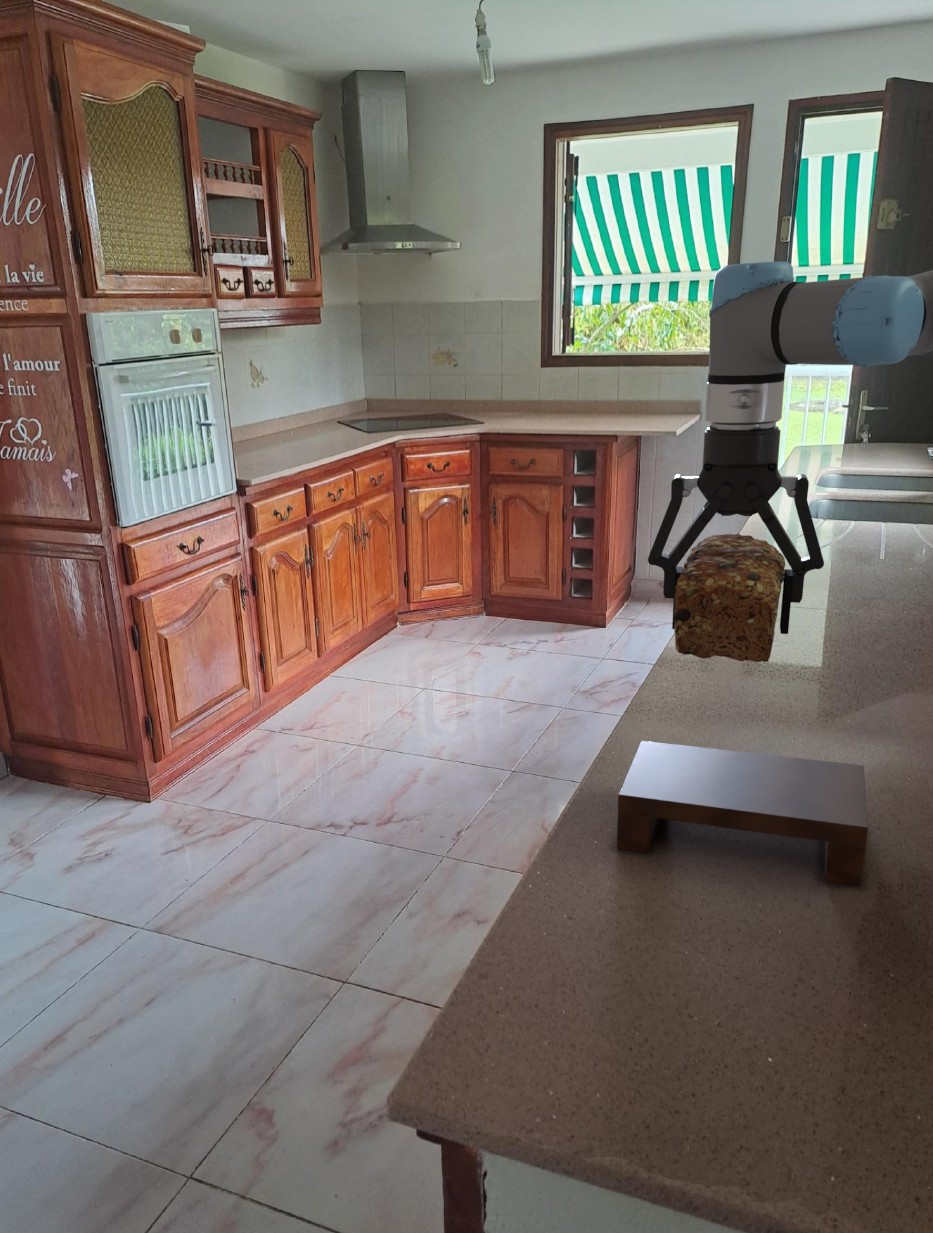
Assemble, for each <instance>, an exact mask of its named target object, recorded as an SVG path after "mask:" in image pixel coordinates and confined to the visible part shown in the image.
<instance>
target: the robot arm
mask: <svg viewBox="0 0 933 1233" xmlns="http://www.w3.org/2000/svg"><path fill="white" fill-rule="evenodd" d="M708 318H709V351H708V352H709V353H708V354H709V355H708V357H709V358H708V374H707V382H706V394H705V395H706V396H705V418H704V419H705V421H706V422H707V423H708V424H710V425H709V426H707V428H706V430H704V433H703V435H704V436H703V450H702V451H703V452H702V454H703V455H702V469H701V471H700V473H699V474H698V476H696V475H695V476H694V475H693V476H683V475H682V474H679V473H678V474H676V475H673V478H672V479H671V487H670V488H671V490H670V491H671V492H670V501H669V503H668V505H667V508H666V511H665V513H664V517H663V519H662V521H661V524H660V526H659V529H658V531H657V533H656V536H655V540H654V541H653V544H652V546H651V549H650V551H649V554H648V557H647V563H648V565H651V566H656V567H658V568H661V570H663V591H662V593H663V598H664V599H673V600H672V601H673V603H672V621H671V622H672V623H671V624H672V626H671V629H672V630H674V626H675V618H674V610H675V608H674V600H675V598H674V596H675V588H676V585H677V581H678V578H679V577H680V575H681V573H682V571H683V568H684V566H678V565H679V564H680V562H681V561H682V560H683V558H684V557H685V556H686V554H687V553H688V552H689V550H690V549H691V547H692V546H693V544H694V543H695V542H696V540H697V539H698V538H699V537H700V535H701V533H702V532H703V531H704V530H705V528H706V527H707V525H708V524H709V523H710V522H711V521H712V519H713V518H714V516H715V515H716V514H718V515H721V517H730V516H734V515H738V516H742V517H752V516H754V515H756V514H757V515H758V516H759V517H760V519H761V521H762V522H763V524H764V525H765V526H766V529H767V530H768V532H769V534H770V535H771V537H772V538H773V540H774V542H775V543H776V545H777V548H779V551H780V553H781V554H782V555H783V557H784V559H785V561H786V562H787V564H788V565H789V567H790V568H789V569H786V568H784V581H783V583H782V596H781V605H780V606H781V607H780V619H779V630H780V634H781V635H789V628H790V618H791V607H792V606H791V605H792V603H795V604H797V603H798V604H800V603H801V602H802V600H803V595H804V585H805V584H804V583H805V577H806V574H807V573H808V572H810V571H813V570H821V569H822V568H824V565H825V560H824V557H823V554H822V549H821V545H820V542H819V538H818V535H817V532H816V528H815V524H814V520H813V517H812V513H811V510H810V506H809V501H808V496H809V486H810V481H809V479H808V476H807V475H806V474H804V473H800V474H798V475H796V476H795V475H794V476H791V475H790V476H789V475H781V474H780V471H779V457H780V456H779V455H780V442H781V429H780V428H779V426H777V425H776V423H777V422H779V421H781V420H782V417H783V404H784V390H785V380H786V379H785V378H786V377H785V376H786V368H787V365H789V366H790V365H791V366H795V365H819V366H821V365H822V366H823V365H824V366H825V365H826V366H830V365H831V366H835V365H836V366H855V367H860V368H866V367H868V366H869V367H870V366H871V367H872V366H879V365H893V364H897V363H900V362H901V361H903V360H905V359H906V357H908V358H912V357H913V358H914V357H919V356H924V355H926V356H927V355H929V354H932V353H933V269H932V270H927V271H925V272H920V273H918V274H914V275H909V276H905V275H903V276H902V275H901V276H897V275H895V276H890V275H883V274H882V275H875V274H874V275H868V276H865V277H864V276H863V277H853V278H851V277H850V278H840V279H827V280H818V281H817V280H816V281H807V282H805V281H795V277H794V268H793V266H792V263H790V262H788V261H763V262H760V261H759V262H751V263H749V262H747V263H735V264H727V265H724V266H722V267H721V268H720V269H718V270H717V272H716V273H715V275H714V279H713V285H712V296H711V305H710V309H709V313H708ZM695 488H698V490H699V492H701V494H702V495H703V497H704V498H705V500H706V502H705V504H703V506H702V508H701V509H700V511H699V512H698V514H697V515H696V517H695V518H694V520H692V522H691V523H690V525H689V526H688V528H687V529H686V531H685V532H684V533H683V535H682V536H681V537H680V539H679V540H678V542H677V543H676V544H675V545H674V547H673V548H672V550H671V551H670V552H669V554H666V553H664V552H663V551H664V549H665V547H666V545H667V542H668V539H669V537H670V534H671V531H672V530H673V527H674V524H675V521H676V519H677V517H678V515H679V512H680V509H681V506H682V504H683V500H684V498H688V497H690V495H691V493H692V491H693V489H695ZM780 488H783V489H785V491H786V492H785V493H786V495H787V497H789V498H791V499H793V501H794V505H795V509H796V512H797V516H798V520H799V524H800V527H801V532H802V534H803V538H804V541H805V545H806V549H807V553H808V556H805V557H801V555H800V553H799V551H798V549H797V548H796V546H795V545H794V543H793V541H792V540H791V538H790V536H789V535H788V533H787V531H786V530H785V528H784V527H783V525H782V523H781V521H780V520H779V518H778V517H777V515H776V513H775V511H774V509H773V508H772V507H773V506H771V504H770V502H769V501H770V500H771V499H772V498H773V497H774V496H775V494H776V493H777V492H778V490H779V489H780Z"/></svg>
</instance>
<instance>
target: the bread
mask: <svg viewBox="0 0 933 1233" xmlns="http://www.w3.org/2000/svg"><path fill="white" fill-rule="evenodd" d="M785 567H786V558H785V557H784V555H783V553H782V552H780V550H778V549H777V548H776V547H775V546H774V545H772V544H771V543H769V542H768V541H767V540H764V539H758V538H754V537H753V536H752V535H742V534H740V533H736V534H734V533H725V534H711V535H710V536H707V537H705V538H704V539H702V540H701V541H699V542H698V543H697V544H696V545H695V546H694V547H692V548H691V551H690V553H688V556H687V557H686V561H685V562H684V563H683V571H682V573H681V575H680V577H679V578H678V581H677V585H676V588H675V596H674V598H675V600H674V608H675V610H674V618H675V626H674V629H673V630H674V631H673V632H674V641H675V650H676V651H677V653H679V654H682V655H683V656H685V655H692V656H694V657H697V658H700V659H710V658H713V657H715V656H716V657H721V658H723V657H725V658H728V659H731V660H735V661H738V662H745V661H750V662H755V663H760V662H763V663H768V662H769V660H770V658H771V654H772V649H773V645H774V644H773V643H774V639H775V629H776V623H777V619H778V612H779V605H780V604H779V603H780V598H781V593H782V585H783V582H784V570H785V569H786V568H785Z"/></svg>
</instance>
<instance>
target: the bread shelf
mask: <svg viewBox="0 0 933 1233" xmlns="http://www.w3.org/2000/svg"><path fill="white" fill-rule="evenodd" d="M865 777H866V776H865V766H864V765H863V764H854V763H847V762H846V763H845V762H836V761H830V760H829V761H828V760H818V759H809V758H801V757H791V756H782V755H775V754H774V755H773V754H765V753H756V752H747V751H738V750H730V749H729V750H727V749H719V748H710V747H701V746H691V745H683V744H676V743H675V744H674V743H673V744H672V743H664V742H656V741H646V740H641V741H640V743H639V745H638V748H637V750H636V752H635V754H634V756H633V759H632V761H631V764H630V767H629V768H628V771H627V773H626V776H625V778H624V780H623V783H622V785H621V787H620V790H619V792H618V795H617V824H616V826H617V828H616V829H617V831H616V832H617V833H616V849H617V850H623V851H629V852H636V853H641V854H642V853H643V854H648V853H649V850H650V847H651V844H652V841H653V837H654V835H655V832H656V829H657V825H658V823H659V820H660V819H661V820H667V821H675V822H681V823H688V824H689V823H691V824H696V825H704V826H711V827H718V828H726V829H733V830H740V831H746V832H747V831H748V832H752V833H753V832H754V833H760V834H761V833H762V834H768V835H775V836H783V837H790V838H797V839H805V840H811V841H813V840H814V841H819V842H824V881H827V882H831V883H840V884H846V885H852V886H860V887H861V885H862V878H863V870H864V864H865V855H866V848H867V840H868V834H869V833H868V832H869V820H868V819H869V818H868V806H867V792H866V791H867V790H866V778H865Z"/></svg>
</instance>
